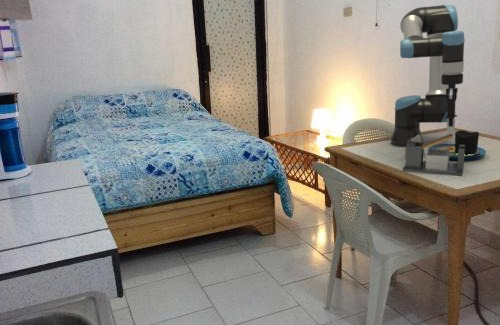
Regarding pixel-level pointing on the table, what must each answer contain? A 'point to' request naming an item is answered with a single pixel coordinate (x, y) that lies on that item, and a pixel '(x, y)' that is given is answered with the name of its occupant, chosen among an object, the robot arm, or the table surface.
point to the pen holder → (466, 141)
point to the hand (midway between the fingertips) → (450, 133)
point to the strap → (437, 141)
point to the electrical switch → (416, 140)
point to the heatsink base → (432, 160)
